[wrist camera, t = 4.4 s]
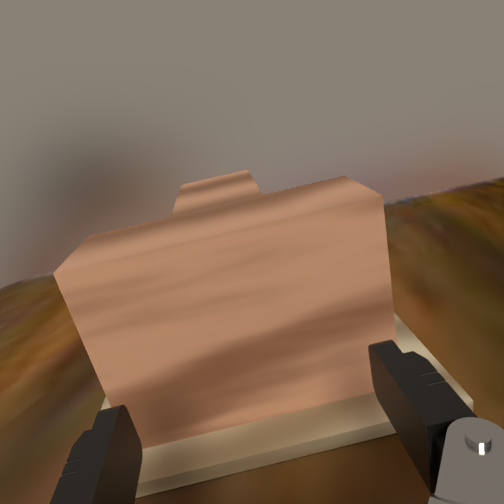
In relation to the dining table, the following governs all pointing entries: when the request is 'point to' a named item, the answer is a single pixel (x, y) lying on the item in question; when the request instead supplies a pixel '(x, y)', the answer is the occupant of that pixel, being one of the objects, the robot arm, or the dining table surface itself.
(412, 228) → the dining table surface
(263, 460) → the board
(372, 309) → the T block
